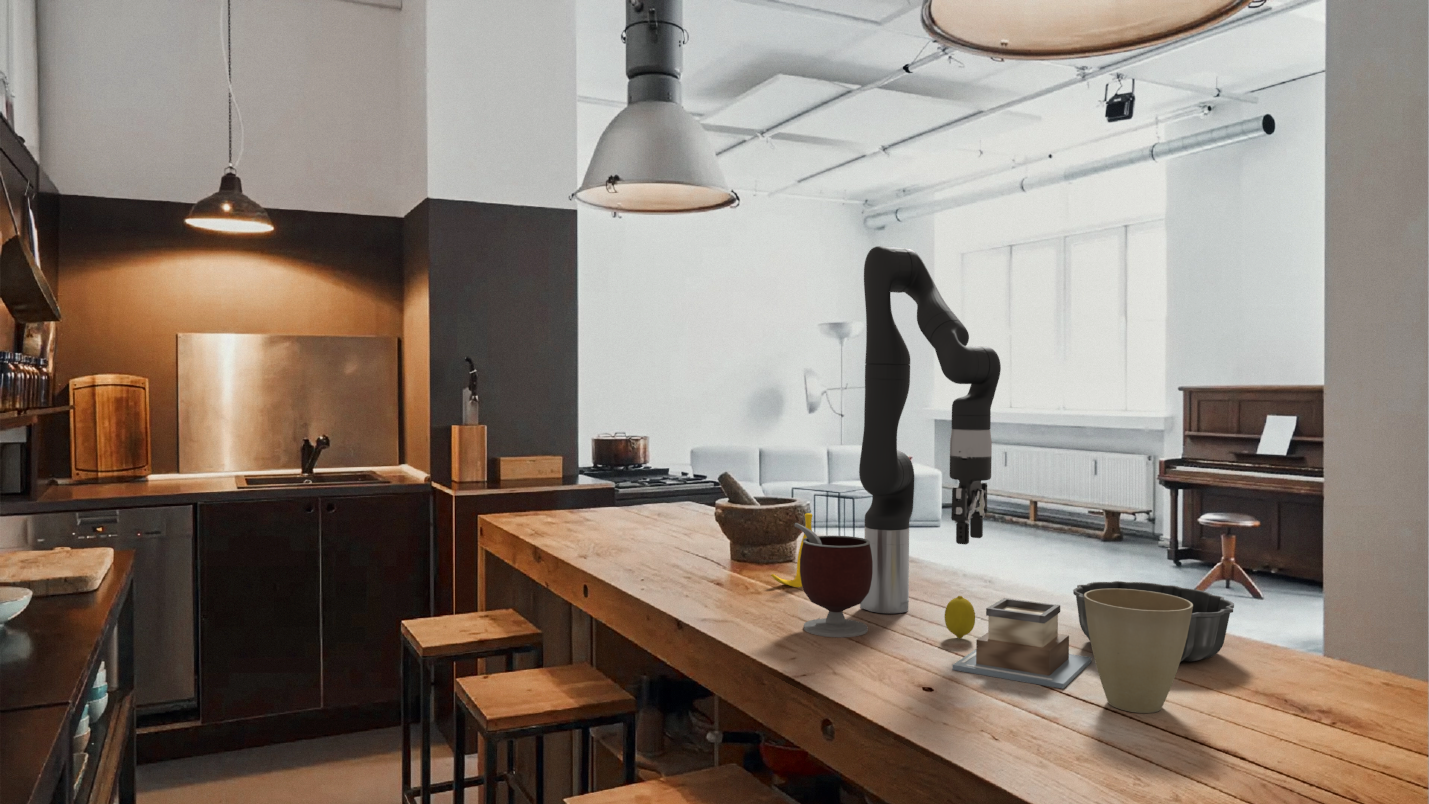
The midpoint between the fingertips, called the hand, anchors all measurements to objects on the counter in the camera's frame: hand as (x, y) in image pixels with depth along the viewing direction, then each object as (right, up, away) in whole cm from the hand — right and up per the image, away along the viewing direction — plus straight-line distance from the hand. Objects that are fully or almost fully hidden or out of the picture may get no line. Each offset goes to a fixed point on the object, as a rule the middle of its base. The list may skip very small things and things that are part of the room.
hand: (969, 540), depth 186 cm
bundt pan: (+31, -19, -7) cm, 37 cm away
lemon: (-2, -18, 0) cm, 18 cm away
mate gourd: (-25, -18, +7) cm, 32 cm away
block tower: (+5, -19, -17) cm, 26 cm away
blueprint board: (+5, -19, -17) cm, 26 cm away
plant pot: (+15, -19, -38) cm, 45 cm away
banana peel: (-27, -17, +48) cm, 58 cm away
